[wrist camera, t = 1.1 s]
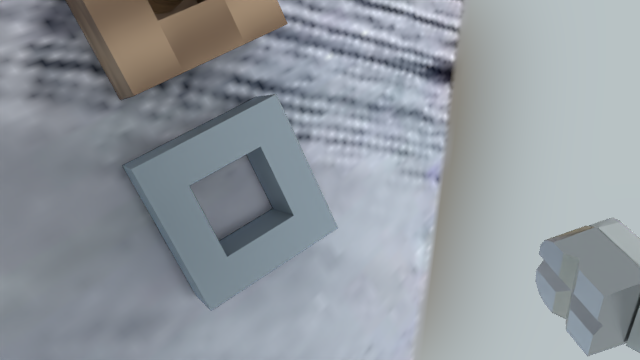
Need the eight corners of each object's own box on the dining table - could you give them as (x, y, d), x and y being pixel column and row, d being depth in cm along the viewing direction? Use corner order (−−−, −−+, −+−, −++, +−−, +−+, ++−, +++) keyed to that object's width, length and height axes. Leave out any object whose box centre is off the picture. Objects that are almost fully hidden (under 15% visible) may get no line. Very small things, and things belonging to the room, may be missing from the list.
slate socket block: (122, 165, 39) (131, 169, 35) (256, 96, 43) (276, 94, 39) (195, 295, 42) (210, 311, 39) (314, 220, 46) (337, 228, 43)
